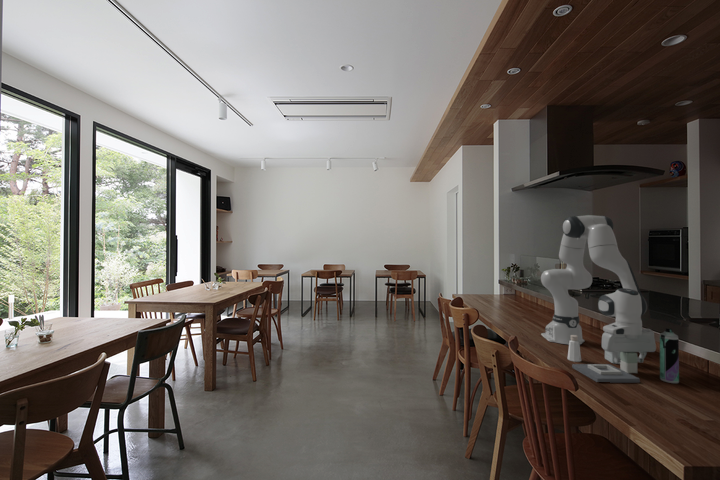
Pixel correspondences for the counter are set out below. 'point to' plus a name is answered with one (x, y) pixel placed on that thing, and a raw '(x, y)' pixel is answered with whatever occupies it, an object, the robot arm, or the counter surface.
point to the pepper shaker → (574, 349)
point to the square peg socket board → (605, 373)
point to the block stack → (628, 362)
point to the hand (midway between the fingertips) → (628, 362)
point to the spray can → (669, 356)
